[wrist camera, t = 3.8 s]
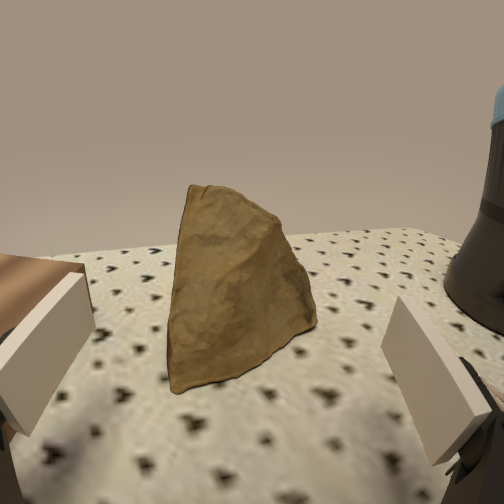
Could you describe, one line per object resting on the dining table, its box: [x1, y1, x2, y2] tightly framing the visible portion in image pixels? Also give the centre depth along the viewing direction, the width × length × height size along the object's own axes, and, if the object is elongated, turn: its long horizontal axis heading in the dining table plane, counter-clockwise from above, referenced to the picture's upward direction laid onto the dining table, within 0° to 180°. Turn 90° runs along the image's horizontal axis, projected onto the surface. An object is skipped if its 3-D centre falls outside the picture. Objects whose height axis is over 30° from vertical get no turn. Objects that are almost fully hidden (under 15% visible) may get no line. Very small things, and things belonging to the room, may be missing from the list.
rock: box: [166, 185, 318, 394], centre depth 18 cm, size 11×9×10 cm
